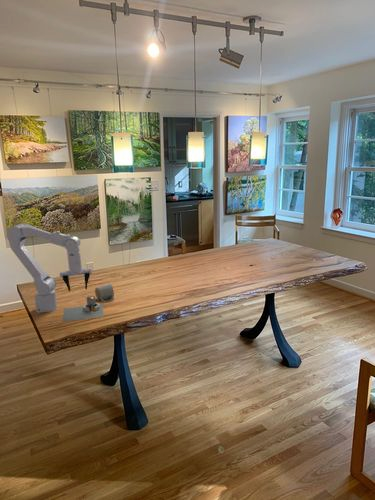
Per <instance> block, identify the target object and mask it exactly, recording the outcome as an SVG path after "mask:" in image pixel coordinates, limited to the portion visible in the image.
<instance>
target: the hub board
mask: <svg viewBox="0 0 375 500" xmlns="http://www.w3.org/2000/svg"><path fill="white" fill-rule="evenodd" d="M103 310H104V309H103V304H102V303H99V302H96V307H94V310H92V311H91V310H90V309H89V308H88V307H87V303H85V304H84V305H82V306H76V307H75V306H74V307H66V308H64V309H63V316H62V323H65V322H73V321H82V320H88V319H89V320H90V319H95V318H96V319H97V318H104V311H103Z"/></svg>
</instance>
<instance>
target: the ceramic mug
mask: <svg viewBox="0 0 375 500" xmlns="http://www.w3.org/2000/svg"><path fill="white" fill-rule="evenodd" d="M112 285H113V284H111V283H107V284H104V285H103V284H102V285H100V286H97V287H95V290H94V292H95V299H96V300H98V301H101V302H103V303H109V302H113V299H114V297H115V292H114V288H113V286H112ZM109 299H110V300H109Z"/></svg>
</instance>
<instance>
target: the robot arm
mask: <svg viewBox="0 0 375 500" xmlns="http://www.w3.org/2000/svg"><path fill="white" fill-rule="evenodd" d="M30 236H33V237H37V238H40V239H45V240H49V242H50V244H53V245H54V246H59V247H62V248H64V249H65V250H66V253H67V254H66V255H67V261H68V270H66V271H59V278H62V280H63V282H64V284H65V285H66V287H67V289H68V292H71V284H70V279H69V278H70V277H71V276H81V275H84V285H85V290H87V289H88V283H89V279H90V276H91V275H92V274H93V270H92V268H82V267H83V266H82V261H81V260H82V259H81V249H80V246H81V239H80V238H79V237H77V236H76V235H72V236H71V235H70V234H64V233H61V231H59V230H57V231H53V232H49V231H48V230H47V231H46V230H45V229H41V228H38V227H36V226H33V225H31V224H27V223H23V222H22V223H18V224H16V225H14V226H11V227H9V228H8V229H7V233H6V238H7V239H8V242H9V247H10V249H11V251H12V252H13V253H14V255H15V257H17V259H18V260H19V261H20V263H21V264H22V266H23V267H24V268H25V269H26V270H27V271H28V273H29V274H30V276H31V277H32V278H33V285H34V287H35V289H36V292H37V293H36V294H35V295H34V302H35V304H34V305H35V311H36V314H37V313H49V312H53V311H56V310H57V309H58V304H57V296H56V290H55V288H56V286H57V281H56V279H55V278H53V277H52V276H50V274H49V273H47V272H45V271H44V270H43V269H42V268H41V267H40V265H39V264H38V262H37V261H36V260H35V258H34V257H33V256H32V254H31V253H30V252H29V250H28V249H27V248H26V246H25V242H26V238H28V237H30Z"/></svg>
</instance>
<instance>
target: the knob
mask: <svg viewBox="0 0 375 500" xmlns="http://www.w3.org/2000/svg"><path fill="white" fill-rule="evenodd" d="M96 303H97V302H96V295H95V296H94V295H89V296H86V304H87V307H88V308H89V309H90V310H91V311H92V310H94V307H96Z"/></svg>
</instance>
